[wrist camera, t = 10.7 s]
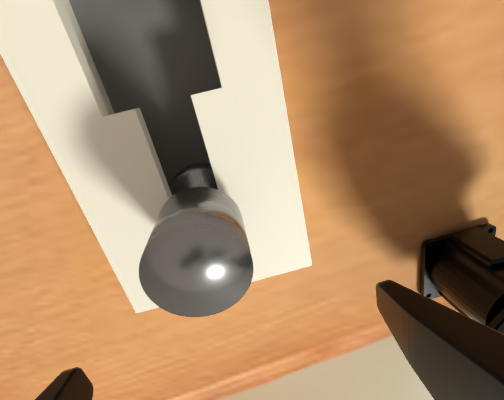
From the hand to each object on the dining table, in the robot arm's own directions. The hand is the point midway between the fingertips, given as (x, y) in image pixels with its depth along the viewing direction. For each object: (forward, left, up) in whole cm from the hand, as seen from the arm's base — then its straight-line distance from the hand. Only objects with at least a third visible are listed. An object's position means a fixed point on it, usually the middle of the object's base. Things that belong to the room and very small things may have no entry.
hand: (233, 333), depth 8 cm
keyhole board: (+5, +1, -13) cm, 14 cm away
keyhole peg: (0, +1, -13) cm, 13 cm away
